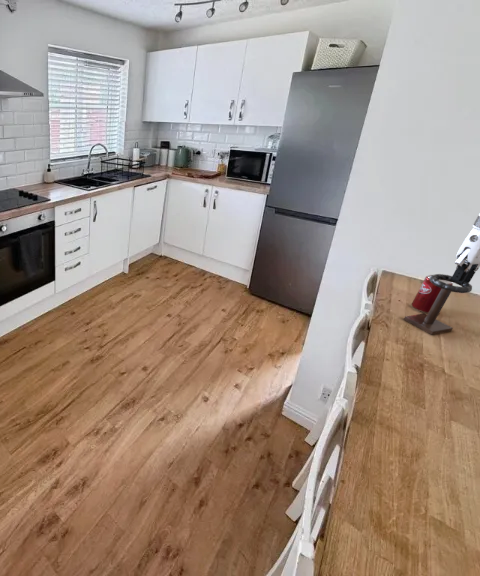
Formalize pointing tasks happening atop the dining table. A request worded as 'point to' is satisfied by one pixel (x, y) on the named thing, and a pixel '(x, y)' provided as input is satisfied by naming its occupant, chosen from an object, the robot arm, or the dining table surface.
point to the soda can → (427, 295)
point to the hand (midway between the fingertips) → (459, 281)
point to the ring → (435, 280)
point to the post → (432, 316)
